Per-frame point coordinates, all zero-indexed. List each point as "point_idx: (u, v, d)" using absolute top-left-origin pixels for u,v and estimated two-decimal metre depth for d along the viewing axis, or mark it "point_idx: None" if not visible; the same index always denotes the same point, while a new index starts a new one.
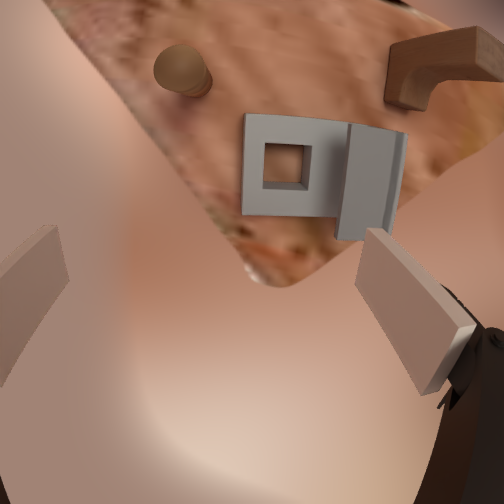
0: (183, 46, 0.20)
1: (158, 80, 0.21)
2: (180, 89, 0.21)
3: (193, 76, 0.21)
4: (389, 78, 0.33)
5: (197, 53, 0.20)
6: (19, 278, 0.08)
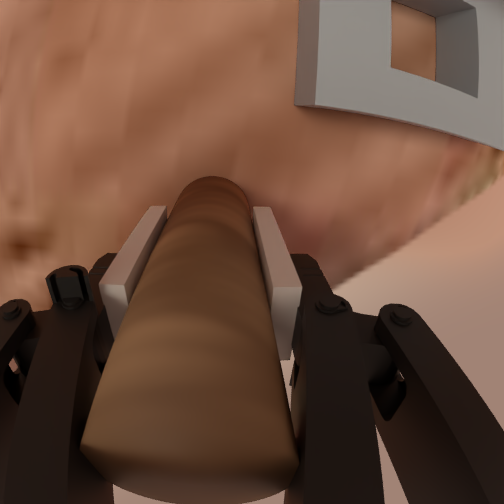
0: (89, 459, 0.04)
1: (243, 501, 0.05)
2: None
3: (234, 454, 0.04)
4: None
5: (102, 436, 0.04)
6: (151, 251, 0.11)
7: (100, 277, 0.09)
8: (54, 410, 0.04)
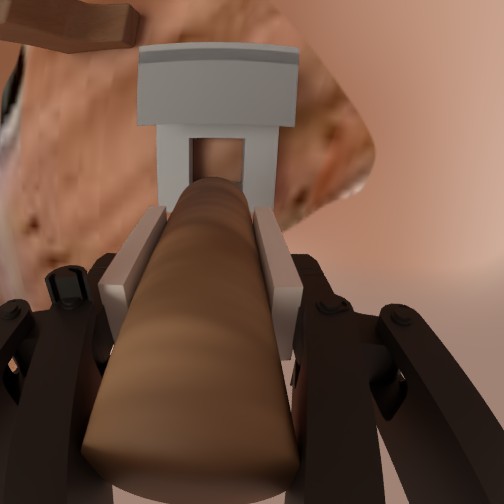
0: (90, 461, 0.04)
1: (244, 502, 0.05)
2: None
3: (235, 456, 0.04)
4: (103, 48, 0.25)
5: (103, 439, 0.04)
6: (150, 251, 0.10)
7: (99, 277, 0.09)
8: (53, 410, 0.04)
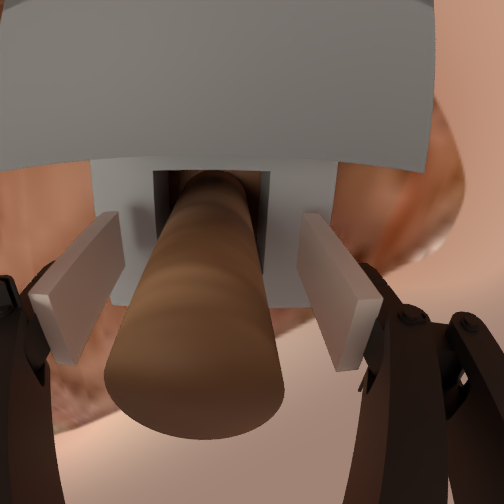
0: (111, 382, 0.06)
1: (238, 432, 0.07)
2: (279, 390, 0.06)
3: (230, 361, 0.06)
4: None
5: (127, 349, 0.05)
6: (91, 259, 0.10)
7: None
8: None
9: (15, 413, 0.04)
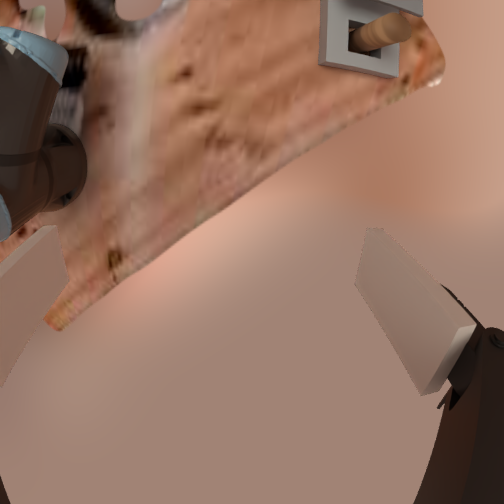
0: (384, 20, 0.25)
1: (404, 39, 0.27)
2: (410, 29, 0.26)
3: (403, 20, 0.25)
4: None
5: (389, 14, 0.25)
6: (19, 278, 0.08)
7: None
8: None
9: None
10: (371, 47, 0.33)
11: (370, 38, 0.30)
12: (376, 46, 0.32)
